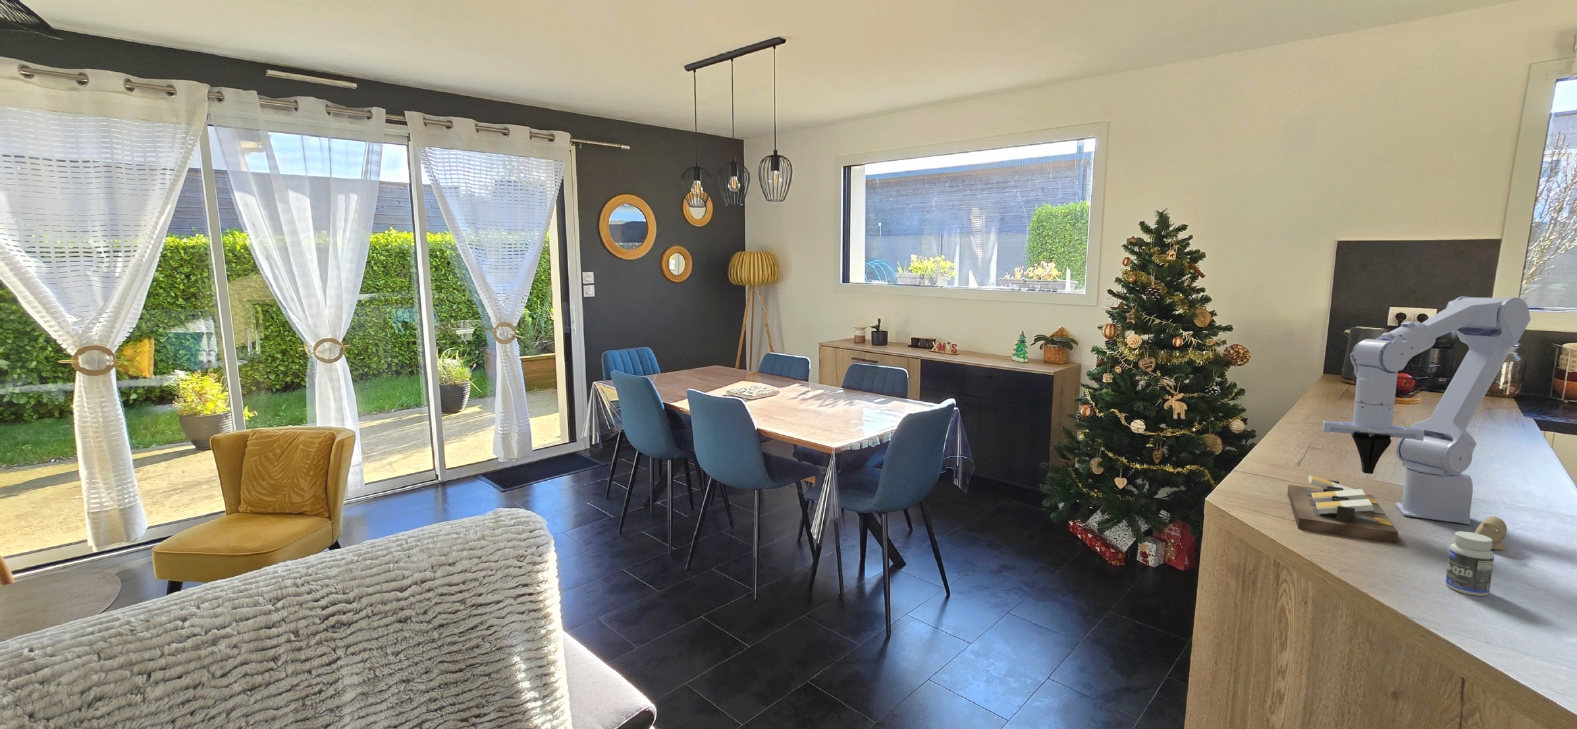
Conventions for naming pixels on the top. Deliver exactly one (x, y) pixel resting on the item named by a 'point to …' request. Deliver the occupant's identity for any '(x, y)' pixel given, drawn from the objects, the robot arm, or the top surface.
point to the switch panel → (1340, 516)
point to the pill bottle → (1470, 564)
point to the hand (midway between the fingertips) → (1367, 472)
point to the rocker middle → (1327, 496)
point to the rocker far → (1325, 483)
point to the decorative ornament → (1493, 531)
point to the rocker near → (1344, 505)
